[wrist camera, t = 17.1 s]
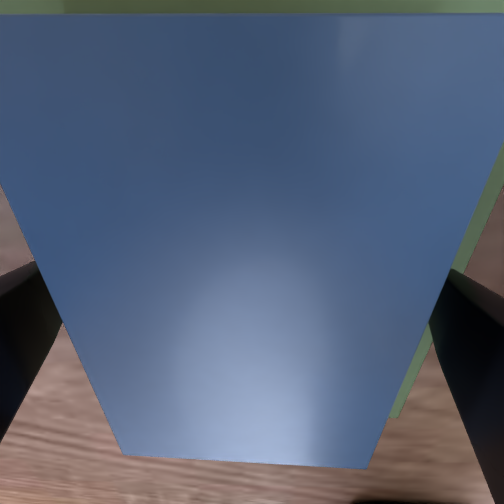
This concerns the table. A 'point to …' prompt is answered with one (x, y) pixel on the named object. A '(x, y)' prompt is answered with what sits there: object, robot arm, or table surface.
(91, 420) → the table surface
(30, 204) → the blue book
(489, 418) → the robot arm
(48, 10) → the green mat
